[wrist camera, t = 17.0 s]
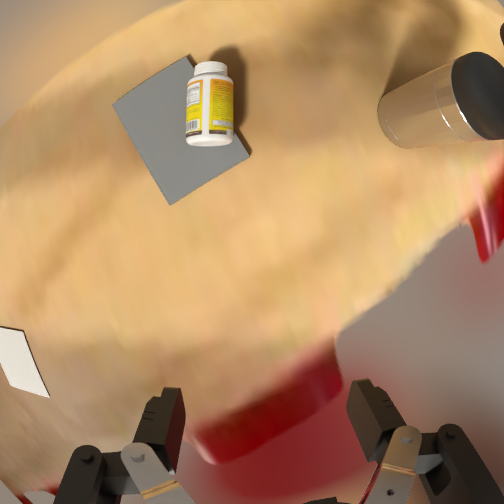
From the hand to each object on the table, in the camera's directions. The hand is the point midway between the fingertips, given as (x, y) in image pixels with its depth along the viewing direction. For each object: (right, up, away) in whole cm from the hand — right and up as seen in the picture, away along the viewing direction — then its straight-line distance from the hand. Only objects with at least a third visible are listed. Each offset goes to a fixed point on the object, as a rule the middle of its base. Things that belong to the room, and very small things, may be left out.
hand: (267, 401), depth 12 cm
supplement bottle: (-6, +19, +20) cm, 28 cm away
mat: (-11, +23, +23) cm, 34 cm away
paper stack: (-57, -13, +30) cm, 66 cm away
